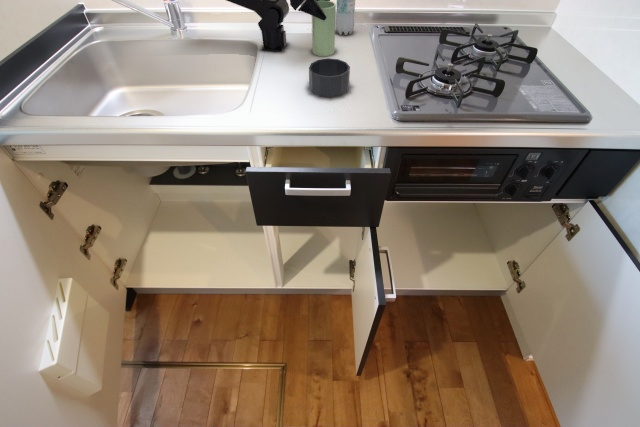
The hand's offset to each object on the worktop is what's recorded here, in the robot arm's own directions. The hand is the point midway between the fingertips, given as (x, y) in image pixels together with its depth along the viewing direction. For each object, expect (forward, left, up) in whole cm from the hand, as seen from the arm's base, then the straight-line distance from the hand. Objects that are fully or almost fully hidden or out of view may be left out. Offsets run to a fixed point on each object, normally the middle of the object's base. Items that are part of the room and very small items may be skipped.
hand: (328, 13), depth 96 cm
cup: (-2, 0, -11) cm, 11 cm away
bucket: (+5, -22, -11) cm, 25 cm away
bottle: (+3, +16, -11) cm, 20 cm away
